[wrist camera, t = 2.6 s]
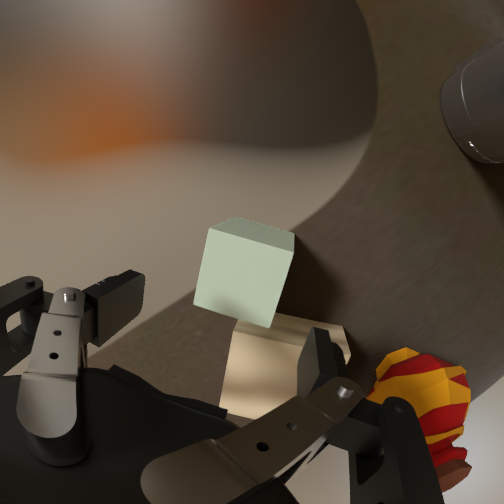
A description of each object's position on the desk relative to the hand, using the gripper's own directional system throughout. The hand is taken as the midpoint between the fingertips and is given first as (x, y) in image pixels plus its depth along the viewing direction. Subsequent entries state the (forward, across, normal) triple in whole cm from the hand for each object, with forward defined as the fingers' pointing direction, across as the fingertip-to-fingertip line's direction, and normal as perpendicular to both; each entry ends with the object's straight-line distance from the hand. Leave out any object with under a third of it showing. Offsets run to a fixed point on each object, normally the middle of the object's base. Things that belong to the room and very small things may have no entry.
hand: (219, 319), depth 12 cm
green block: (+11, 0, -1) cm, 11 cm away
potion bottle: (+12, -17, +7) cm, 22 cm away
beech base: (+12, -5, +8) cm, 15 cm away
